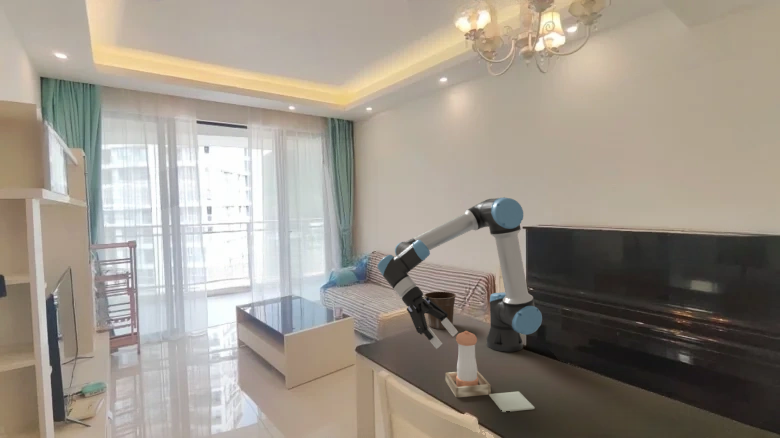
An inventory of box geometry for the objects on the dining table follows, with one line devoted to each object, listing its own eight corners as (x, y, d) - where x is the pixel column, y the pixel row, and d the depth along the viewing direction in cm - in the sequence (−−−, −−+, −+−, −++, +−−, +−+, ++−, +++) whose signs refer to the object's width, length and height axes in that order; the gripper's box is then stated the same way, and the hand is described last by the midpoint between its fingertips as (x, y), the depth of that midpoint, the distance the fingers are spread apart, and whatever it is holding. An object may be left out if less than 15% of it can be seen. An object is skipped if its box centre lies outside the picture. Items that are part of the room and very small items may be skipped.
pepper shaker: (460, 380, 131) (459, 326, 130) (481, 385, 127) (480, 329, 127) (453, 389, 124) (452, 332, 124) (474, 394, 121) (473, 335, 120)
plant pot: (423, 330, 187) (422, 298, 186) (425, 320, 202) (425, 291, 202) (456, 331, 184) (456, 298, 183) (456, 321, 200) (455, 291, 199)
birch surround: (477, 378, 132) (477, 370, 132) (490, 394, 121) (490, 385, 121) (445, 381, 131) (445, 372, 131) (456, 397, 119) (455, 388, 119)
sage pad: (518, 392, 121) (518, 391, 121) (534, 409, 111) (534, 407, 111) (489, 395, 120) (489, 394, 120) (502, 412, 110) (502, 410, 110)
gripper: (418, 291, 148) (454, 335, 140) (384, 306, 127) (424, 358, 119) (430, 279, 145) (468, 323, 137) (397, 292, 124) (439, 345, 116)
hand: (448, 340), depth 128 cm, fingers open, 13 cm apart
